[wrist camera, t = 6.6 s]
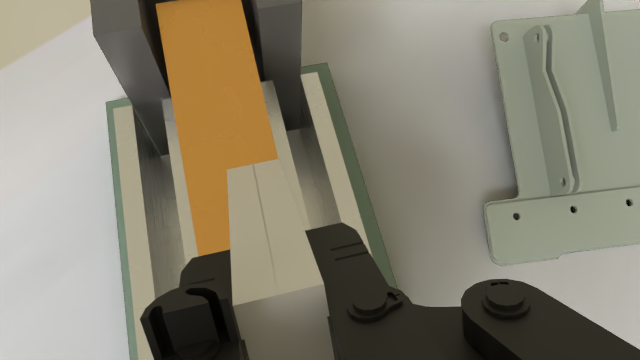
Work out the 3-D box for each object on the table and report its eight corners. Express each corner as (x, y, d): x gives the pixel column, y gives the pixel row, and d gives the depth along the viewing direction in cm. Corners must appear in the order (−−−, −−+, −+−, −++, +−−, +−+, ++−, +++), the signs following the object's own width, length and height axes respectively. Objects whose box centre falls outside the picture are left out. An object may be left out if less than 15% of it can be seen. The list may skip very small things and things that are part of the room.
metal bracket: (465, -9, 24) (745, -30, 25) (429, 40, 30) (659, 21, 31) (514, 291, 22) (811, 249, 24) (465, 281, 28) (707, 248, 29)
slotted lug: (299, 139, 25) (301, 1, 17) (166, 165, 24) (93, 34, 16) (282, 76, 27) (276, -81, 18) (156, 99, 26) (85, -55, 17)
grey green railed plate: (440, 441, 21) (445, 443, 20) (152, 527, 19) (146, 532, 18) (326, 71, 28) (326, 62, 27) (111, 110, 27) (105, 101, 26)
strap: (344, 453, 14) (350, 464, 13) (242, 483, 14) (238, 498, 13) (241, 10, 19) (237, -15, 18) (162, 23, 19) (153, -2, 17)
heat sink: (412, 452, 20) (479, 483, 13) (183, 521, 19) (115, 599, 12) (324, 143, 25) (335, 44, 18) (142, 180, 24) (79, 88, 17)
